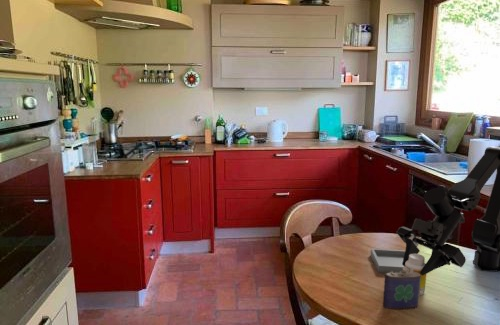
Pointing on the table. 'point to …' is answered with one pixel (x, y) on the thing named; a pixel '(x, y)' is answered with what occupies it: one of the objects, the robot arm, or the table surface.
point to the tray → (388, 260)
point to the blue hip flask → (401, 290)
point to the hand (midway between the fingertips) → (412, 269)
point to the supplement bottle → (417, 269)
